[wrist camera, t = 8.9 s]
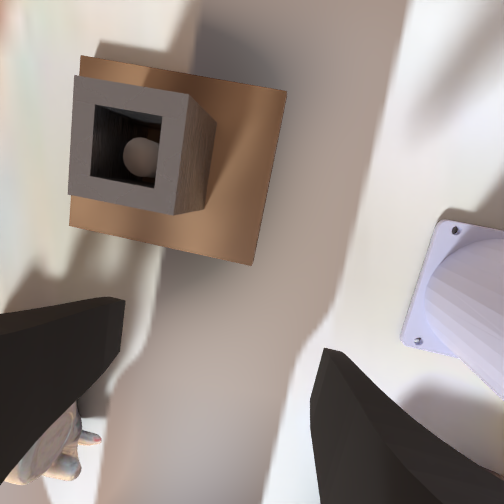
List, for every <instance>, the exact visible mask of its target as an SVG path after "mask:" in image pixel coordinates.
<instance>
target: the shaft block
mask: <svg viewBox="0 0 504 504" xmlns="http://www.w3.org/2000/svg"><path fill="white" fill-rule="evenodd" d="M79 76H83V77H89V78H95V79H101V80H107V81H113V82H119V83H125V84H130V85H136V86H142V87H148V88H154V89H160V90H166V91H172V92H178V93H184V94H189V95H190V96H191V97H192V98H193V99H194V100H195V101H196V102H197V103H198V104H199V105H200V106H201V107H202V108H203V109H204V110H205V111H206V112H207V113H208V114H209V115H210V116H211V117H212V118H213V119H214V120H215V121H216V122H217V126H216V133H215V140H214V146H213V153H212V160H211V166H210V173H209V179H208V186H207V193H206V199H205V206H204V210H200V211H195V212H189V213H184V214H179V215H174V216H173V215H168V214H163V213H158V212H153V211H148V210H143V209H138V208H133V207H128V206H123V205H118V204H113V203H108V202H103V201H98V200H93V199H88V198H83V197H78V196H73V195H71V206H70V220H69V226H72V227H77V228H82V229H86V230H91V231H95V232H100V233H104V234H109V235H113V236H118V237H122V238H127V239H131V240H136V241H141V242H145V243H150V244H154V245H159V246H163V247H168V248H173V249H177V250H181V251H186V252H191V253H195V254H199V255H205V256H209V257H213V258H218V259H222V260H227V261H231V262H236V263H240V264H245V265H249V266H252V264H253V261H254V255H255V251H256V246H257V241H258V236H259V231H260V226H261V221H262V216H263V211H264V207H265V202H266V196H267V192H268V187H269V182H270V177H271V172H272V167H273V162H274V157H275V152H276V147H277V142H278V137H279V132H280V128H281V123H282V117H283V113H284V108H285V103H286V98H287V92H286V91H282V90H277V89H271V88H266V87H260V86H254V85H248V84H243V83H237V82H231V81H226V80H220V79H214V78H208V77H203V76H197V75H191V74H186V73H180V72H174V71H168V70H163V69H157V68H151V67H145V66H140V65H134V64H128V63H122V62H117V61H111V60H105V59H100V58H94V57H88V56H82V55H81V58H80V73H79ZM160 134H161V131H157V130H152V129H148V135H147V139H146V138H141V137H138V138H134V139H132V140H131V141H129V142H128V143H127V145H126V146H125V148H124V152H123V160H124V163H125V166H126V167H127V169H128V170H129V171H130V172H131V173H132V174H134V175H136V176H141V177H143V181H147V182H152V183H155V178H156V169H157V160H158V152H159V143H160Z"/></svg>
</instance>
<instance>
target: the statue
mask: <svg viewBox="0 0 504 504" xmlns="http://www.w3.org/2000/svg"><path fill="white" fill-rule="evenodd" d="M482 468H484V467H482ZM484 469H485V470H487V471H489V472H490V473H492V474H493V475H495V476H497V477H498V478H500V479H502V480H503V481H504V477H503V476H501V475H499V474H497V473H495V472H493V471H491V470H488V469H486V468H484Z"/></svg>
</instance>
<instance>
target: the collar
mask: <svg viewBox="0 0 504 504" xmlns="http://www.w3.org/2000/svg"><path fill="white" fill-rule="evenodd" d="M216 126H217V122H216V121H215V120H214V119H213V118H212V117H211V116H210V115H209V114H208V113H207V112H206V111H205V110H204V109H203V108H202V107H201V106H200V105H199V104H198V103H197V102H196V101H195V100H194V99H193V98H192V97H191V96H190V95H189V94H184V93H178V92H172V91H166V90H160V89H154V88H148V87H142V86H136V85H130V84H125V83H119V82H113V81H107V80H101V79H95V78H89V77H83V76H77V75H74V91H73V109H72V127H71V145H70V164H69V182H68V195H73V196H78V197H83V198H88V199H93V200H98V201H103V202H108V203H113V204H118V205H123V206H128V207H133V208H138V209H143V210H148V211H153V212H158V213H163V214H168V215H173V216H174V215H179V214H184V213H189V212H195V211H200V210H204V206H205V199H206V193H207V186H208V179H209V173H210V166H211V160H212V153H213V146H214V140H215V133H216ZM148 129H152V130H157V131H161V134H160V143H159V152H158V160H157V169H156V178H155V183H152V182H147V181H143V177H141V176H136V175H134V174H132V173H131V172H130V171H129V170H128V169H127V167H126V166H125V163H124V160H123V152H124V148H125V146H126V145H127V143H128V142H129V141H131V140H132V139H134V138H138V137H141V138H146V139H147V135H148Z"/></svg>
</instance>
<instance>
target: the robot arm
mask: <svg viewBox="0 0 504 504" xmlns="http://www.w3.org/2000/svg"><path fill="white" fill-rule="evenodd" d="M455 226H457V228H458V231H457V232H456V233H455V234H452V228H453V227H455ZM124 309H125V300H121V299H117V298H112V297H100V298H93V299H87V300H81V301H76V302H70V303H65V304H60V305H54V306H49V307H43V308H37V309H31V310H24V311H18V312H12V313H4V314H0V485H1V483H2V482H3V481H4V480H5V478H6V477H7V476H8V475H9V473H10V472H11V471H12V470H13V469H14V467H15V466H16V465H17V464H18V463H19V461H20V460H21V459H22V458H23V457H24V456H25V454H26V453H27V452H28V451H29V450H30V448H31V447H32V446H33V445H34V444H35V442H36V441H37V440H38V439H39V438H40V437H41V436H42V435H43V434H44V433H45V432H46V430H47V429H48V428H49V427H50V426H51V425H52V424H53V423H54V422H55V421H56V420H57V419H58V418H59V417H60V416H61V415H62V414H63V413H64V412H65V411H66V410H67V409H68V408H69V407H70V406H71V405H72V404H73V403H74V402H75V401H76V400H77V399H78V398H79V397H80V396H81V395H82V394H83V393H85V392H86V390H87V389H88V388H89V387H90V386H91V385H92V384H93V383H94V382H95V381H96V380H97V379H98V378H99V377H100V376H101V375H102V374H103V373H104V372H105V370H106V369H107V368H108V367H109V365H110V364H111V363H112V361H113V360H114V359H115V357H116V356H117V355H118V353H119V352H120V344H121V336H122V327H123V318H124ZM416 338H420V341H419V342H414V340H415V339H416ZM400 340H401V341H402V343H403V344H404V345H406V346H408V347H412V348H417V349H421V350H425V351H430V352H434V353H438V354H442V355H447V356H451V357H455V358H459V359H460V360H462V361H463V362H464V363H465V364H466V365H467V366H468V367H469V368H470V369H471V370H472V371H473V372H474V373H475V374H476V375H477V376H478V377H479V378H480V379H481V380H482V381H483V382H484V383H485V384H486V385H487V386H488V387H490V388H491V389H492V390H493V391H494V392H495V393H496V394H497V395H498V396H499V397H500V398H501V399H502V400H503V401H504V231H502V230H497V229H492V228H487V227H482V226H477V225H472V224H467V223H462V222H457V221H452V220H441V221H439V222H438V223H437V225H436V227H435V230H434V233H433V236H432V239H431V242H430V245H429V248H428V251H427V254H426V258H425V261H424V264H423V267H422V270H421V273H420V276H419V279H418V282H417V285H416V288H415V291H414V294H413V297H412V300H411V304H410V307H409V310H408V313H407V316H406V319H405V322H404V325H403V328H402V331H401V334H400ZM310 429H311V437H312V444H313V452H314V459H315V466H316V473H317V480H318V487H319V494H320V502H321V504H504V481H503V480H502V479H500V478H498V477H497V476H495V475H493V474H492V473H490V472H489V471H487V470H485V469H484V468H482V467H481V466H479V465H477V464H476V463H474V462H473V461H471V460H470V459H468V458H467V457H465V456H464V455H462V454H461V453H459V452H458V451H456V450H455V449H453V448H452V447H450V446H449V445H448V444H446V443H445V442H443V441H442V440H441V439H439V438H438V437H437V436H435V435H434V434H433V433H431V432H430V431H429V430H427V429H426V428H425V427H424V426H422V425H421V424H420V423H418V422H417V421H416V420H414V419H413V418H412V417H411V416H410V415H408V414H407V413H406V412H405V411H404V410H403V409H401V408H400V407H399V406H398V405H397V404H396V403H395V402H394V401H392V400H391V399H390V398H389V397H388V396H387V395H386V394H385V393H384V392H383V391H382V390H381V389H379V388H378V387H377V386H376V385H375V384H374V383H373V382H372V381H371V380H370V379H369V378H368V377H367V376H366V375H365V374H364V373H363V372H362V371H361V370H360V369H359V368H358V367H357V365H356V364H355V363H354V362H353V361H352V360H351V359H350V358H348V357H347V356H346V355H345V354H344V353H343V352H340V351H336V350H332V349H328V348H324V350H323V353H322V357H321V361H320V365H319V368H318V372H317V376H316V379H315V383H314V387H313V390H312V394H311V398H310Z"/></svg>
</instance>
